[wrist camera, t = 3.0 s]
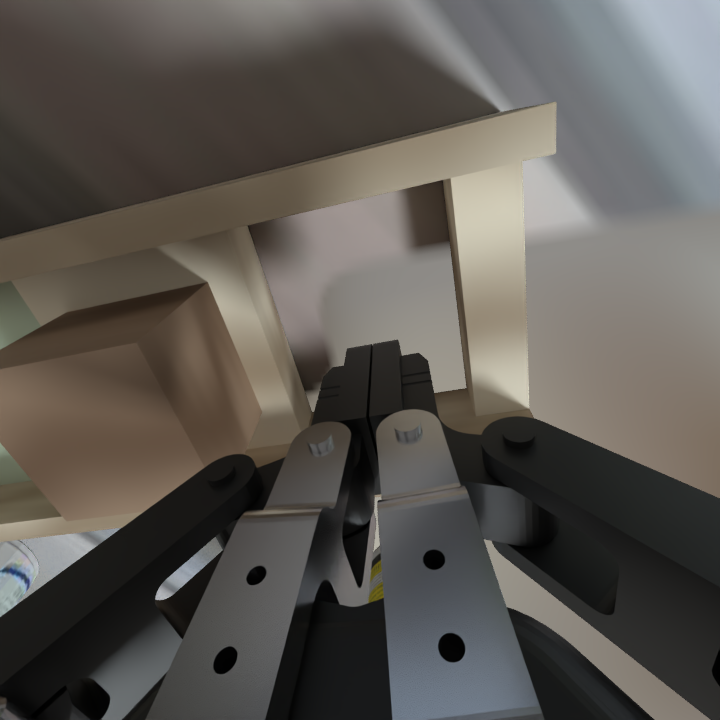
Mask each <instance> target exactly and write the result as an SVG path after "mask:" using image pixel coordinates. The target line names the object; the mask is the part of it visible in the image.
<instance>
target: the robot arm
mask: <svg viewBox="0 0 720 720" xmlns="http://www.w3.org/2000/svg"><path fill="white" fill-rule="evenodd" d="M320 389H321V391H320V392H319V396H318V400H317V404H316V407H315V411H314V415H313V419H312V423H311V426H310V427H308V428H306V429H304V430H303V431H301V432H300V433H299V434H298V435H297V436H296V437H295V438H294V440H293V441H292V443H291V445H290V448H289V450H288V452H287V455H286V457H284V458H282V459H279V460H277V461H274V462H271V463H269V464H266V465H263V466H260V467H258V468H257V467H256V465H255V463H254V461H253V459H252V458H251V457H250V456H247V455H244V454H232V455H228V456H225V457H222V458H220V459H217V460H215V461H214V462H212V463H210V464H209V465H207V466H206V467H205V468H203V469H202V470H200V471H199V472H198V473H196V474H195V475H194V476H192V477H191V478H189V479H188V480H187V481H185V482H184V483H183V484H181V485H180V486H179V487H177V488H176V489H174V490H173V491H172V492H170V493H169V494H168V495H166V496H165V497H164V498H162V499H161V500H159V501H158V502H157V503H155V504H154V505H153V506H151V507H150V508H148V509H147V510H146V511H144V512H143V513H142V514H140V515H139V516H138V517H136V518H135V519H133V520H132V521H131V522H129V523H128V524H127V525H125V526H124V527H122V528H121V529H120V530H118V531H117V532H116V533H114V534H113V535H112V536H110V537H109V538H107V539H106V540H105V541H103V542H102V543H101V544H99V545H98V546H97V547H95V548H94V549H92V550H91V551H90V552H88V553H87V554H86V555H84V556H83V557H81V558H80V559H79V560H77V561H76V562H75V563H73V564H72V565H71V566H69V567H68V568H66V569H65V570H64V571H62V572H61V573H60V574H58V575H57V576H56V577H54V578H53V579H51V580H50V581H49V582H47V583H46V584H45V585H43V586H42V587H40V588H39V589H38V590H36V591H35V592H34V593H32V594H31V595H30V596H28V597H27V598H25V599H24V600H23V601H21V602H20V603H19V604H17V605H16V606H14V607H13V608H12V609H10V610H9V611H8V612H6V613H5V614H4V615H2V616H1V617H0V720H654V719H653V718H652V717H651V716H650V715H649V714H647V713H646V712H645V711H644V710H643V709H642V708H641V707H640V706H639V705H637V704H636V703H635V702H634V701H633V700H632V699H631V698H630V697H629V696H627V695H626V694H625V693H624V692H623V691H622V690H621V689H620V688H619V687H618V686H616V685H615V684H614V683H613V682H612V681H611V680H610V679H609V678H608V677H607V676H606V675H604V674H603V673H602V672H601V671H600V670H599V669H598V668H597V667H596V666H594V665H593V664H592V663H591V662H590V661H589V660H588V659H587V658H586V657H585V656H583V655H582V654H581V653H580V652H579V651H578V650H577V649H576V648H575V647H573V646H572V645H571V644H570V643H569V642H568V641H566V640H565V639H564V638H563V637H561V636H560V635H558V634H557V633H556V632H554V631H553V630H552V629H550V628H549V627H547V626H546V625H544V624H542V623H540V622H539V621H537V620H535V619H534V618H532V617H530V616H528V615H525V614H523V613H521V612H519V611H516V610H514V609H511V608H508V607H506V604H505V601H504V598H503V595H502V592H501V590H500V587H499V583H498V580H497V578H496V575H495V572H494V569H493V566H492V563H491V560H490V557H489V554H488V551H487V548H486V545H485V542H484V539H486V540H491V541H492V543H493V545H494V547H495V548H496V549H497V551H498V552H499V553H500V554H501V555H502V556H504V557H505V558H506V559H507V560H509V561H510V562H511V563H512V564H514V565H515V566H516V567H518V568H519V569H520V570H521V571H523V572H524V573H525V574H526V575H528V576H529V577H530V578H531V579H533V580H534V581H535V582H537V583H538V584H539V585H540V586H542V587H543V588H544V589H545V590H547V591H548V592H549V593H551V594H552V595H553V596H554V597H556V598H557V599H558V600H559V601H561V602H562V603H563V604H564V605H566V606H567V607H568V608H570V609H571V610H572V611H574V612H575V613H576V614H577V615H578V616H580V617H581V618H583V619H584V620H585V621H586V622H588V623H589V624H590V625H591V626H593V627H594V628H595V629H596V630H598V631H599V632H600V633H602V634H603V635H604V636H605V637H606V638H608V639H609V640H610V641H611V642H613V643H614V644H615V645H617V646H618V647H619V648H620V649H622V650H623V651H624V652H625V653H627V654H628V655H629V656H631V657H632V658H633V659H634V660H636V661H637V662H638V663H639V664H641V665H642V666H643V667H645V668H646V669H647V670H648V671H650V672H651V673H652V674H653V675H655V676H656V677H657V678H658V679H660V680H661V681H662V682H664V683H665V684H666V685H667V686H669V687H670V688H671V689H672V690H674V691H675V692H676V693H677V694H679V695H680V696H682V697H683V698H684V699H685V700H687V701H688V702H689V703H690V704H692V705H693V706H694V707H695V708H697V709H698V710H699V711H700V712H702V713H703V714H704V715H706V716H707V717H708V718H709V719H711V720H720V498H717V497H715V496H713V495H711V494H708V493H706V492H704V491H701V490H699V489H697V488H694V487H692V486H689V485H688V484H685V483H683V482H681V481H678V480H676V479H674V478H671V477H669V476H667V475H665V474H662V473H660V472H658V471H655V470H653V469H651V468H648V467H646V466H644V465H641V464H639V463H637V462H634V461H632V460H630V459H628V458H625V457H623V456H621V455H619V454H616V453H614V452H612V451H609V450H607V449H604V448H602V447H600V446H598V445H595V444H593V443H591V442H589V441H586V440H584V439H582V438H579V437H577V436H575V435H572V434H570V433H568V432H566V431H563V430H561V429H559V428H556V427H554V426H552V425H549V424H547V423H545V422H543V421H540V420H537V419H534V418H530V417H523V416H513V417H505V418H502V419H498V420H496V421H494V422H492V423H490V424H489V425H488V426H487V427H486V428H485V429H484V430H483V432H482V434H481V435H478V434H468V433H462V432H458V431H456V430H453V429H451V428H449V427H447V426H446V425H445V424H444V423H443V422H442V421H441V420H440V418H439V415H438V411H437V406H436V401H435V395H434V390H433V386H432V380H431V375H430V369H429V364H428V361H427V360H426V359H425V358H424V357H423V356H422V355H421V354H419V353H416V354H410V355H404V356H402V355H401V351H400V345H399V342H398V340H393V341H388V342H382V343H377V344H373V346H372V344H371V345H365V346H360V347H354V348H348V349H347V352H346V357H345V363H344V366H339V367H333V368H332V369H331V370H330V371H329V372H328V373H327V374H326V375H325V376H324V378H323V380H322V384H321V388H320ZM380 494H381V498H382V500H379V501H378V505H377V508H378V523H379V538H380V552H381V566H382V580H383V594H384V598H382V599H379V600H376V601H373V602H370V603H368V594H369V585H370V576H371V567H372V558H373V548H374V539H375V530H376V518H375V514H374V498H375V495H380ZM214 537H216V538H217V540H218V542H219V544H220V545H221V547H222V549H223V551H222V552H220V553H219V554H218V555H217V556H216V557H215V558H214V559H213V560H212V561H210V562H209V563H208V564H207V565H206V566H205V567H204V568H203V569H202V570H200V571H199V572H198V573H197V574H196V575H195V576H194V577H193V578H192V579H190V580H189V581H188V582H187V583H186V584H185V585H184V586H183V587H182V588H180V589H179V590H178V591H177V592H176V593H175V594H174V595H172V596H171V597H169V598H167V599H165V600H155V596H156V593H157V591H158V589H159V587H160V586H161V584H162V583H163V582H164V581H165V580H166V579H167V578H168V577H169V576H170V575H171V574H173V573H174V572H175V571H176V570H177V569H178V568H179V567H181V566H182V565H183V564H184V563H185V562H186V561H188V560H189V559H190V558H191V557H192V556H193V555H194V554H196V553H197V552H198V551H199V550H200V549H201V548H203V547H204V546H205V545H206V544H207V543H208V542H210V541H211V540H212V539H213V538H214Z"/></svg>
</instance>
